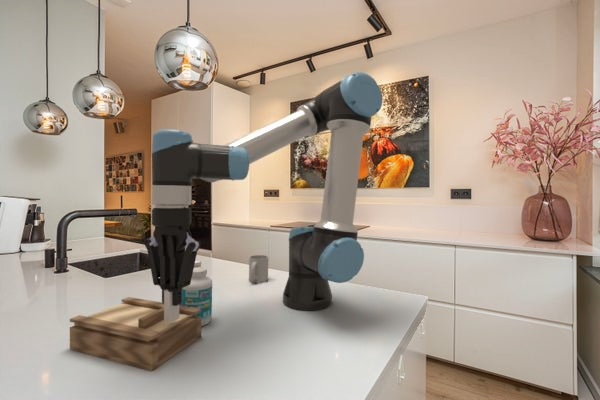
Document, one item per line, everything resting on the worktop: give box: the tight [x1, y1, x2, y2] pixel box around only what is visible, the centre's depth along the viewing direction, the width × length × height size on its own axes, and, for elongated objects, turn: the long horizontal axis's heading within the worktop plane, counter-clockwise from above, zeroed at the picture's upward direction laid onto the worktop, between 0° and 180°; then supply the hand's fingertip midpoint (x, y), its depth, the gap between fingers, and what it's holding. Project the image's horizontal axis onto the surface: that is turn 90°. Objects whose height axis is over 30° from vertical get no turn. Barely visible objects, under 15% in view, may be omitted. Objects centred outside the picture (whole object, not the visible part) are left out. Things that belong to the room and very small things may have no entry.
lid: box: [73, 302, 192, 342], centre depth 65 cm, size 20×12×3 cm, turn 71°
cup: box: [248, 254, 269, 284], centre depth 110 cm, size 7×10×9 cm
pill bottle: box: [181, 266, 213, 327], centre depth 75 cm, size 8×7×14 cm
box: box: [69, 296, 202, 372], centre depth 64 cm, size 22×14×6 cm, turn 71°
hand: (171, 319), depth 61 cm, fingers closed
